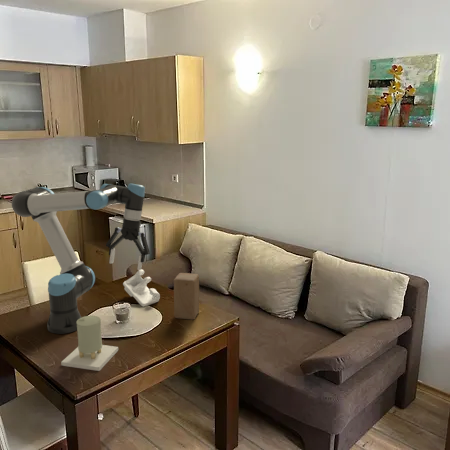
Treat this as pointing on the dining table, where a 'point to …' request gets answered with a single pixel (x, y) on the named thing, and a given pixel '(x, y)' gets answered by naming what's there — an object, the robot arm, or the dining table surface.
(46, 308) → the dining table surface
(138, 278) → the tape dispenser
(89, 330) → the can
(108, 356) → the standoff plate
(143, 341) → the dining table surface
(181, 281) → the wooden block
